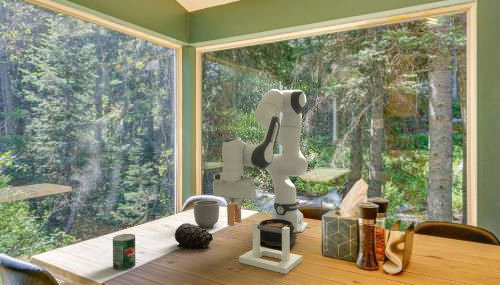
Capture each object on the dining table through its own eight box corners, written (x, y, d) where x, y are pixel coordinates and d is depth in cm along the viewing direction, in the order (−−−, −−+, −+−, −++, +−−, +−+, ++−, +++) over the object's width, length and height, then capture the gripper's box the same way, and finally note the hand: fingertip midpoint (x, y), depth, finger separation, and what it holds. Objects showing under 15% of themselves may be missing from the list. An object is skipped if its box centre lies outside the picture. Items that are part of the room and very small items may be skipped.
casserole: (252, 233, 156) (252, 216, 156) (289, 232, 158) (288, 215, 158) (260, 251, 131) (260, 231, 131) (303, 249, 134) (303, 229, 133)
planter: (224, 225, 170) (224, 201, 170) (208, 232, 159) (208, 206, 158) (205, 221, 178) (205, 199, 177) (188, 228, 166) (187, 203, 166)
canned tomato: (134, 269, 114) (134, 239, 114) (111, 272, 112) (111, 241, 112) (136, 261, 122) (136, 233, 121) (114, 263, 119) (114, 234, 119)
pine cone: (210, 251, 132) (210, 227, 132) (171, 249, 135) (170, 225, 135) (217, 243, 142) (217, 221, 142) (180, 241, 145) (180, 219, 145)
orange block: (236, 221, 136) (236, 201, 136) (241, 222, 135) (240, 202, 135) (227, 225, 131) (227, 205, 130) (232, 226, 129) (231, 205, 129)
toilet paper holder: (239, 262, 120) (238, 225, 120) (258, 250, 132) (257, 217, 132) (286, 274, 109) (285, 234, 109) (302, 260, 121) (302, 224, 121)
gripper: (258, 176, 129) (259, 209, 130) (219, 173, 140) (220, 204, 141) (249, 178, 124) (250, 212, 124) (210, 175, 135) (211, 207, 135)
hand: (234, 208), depth 133 cm, fingers closed on orange block, 2 cm apart
